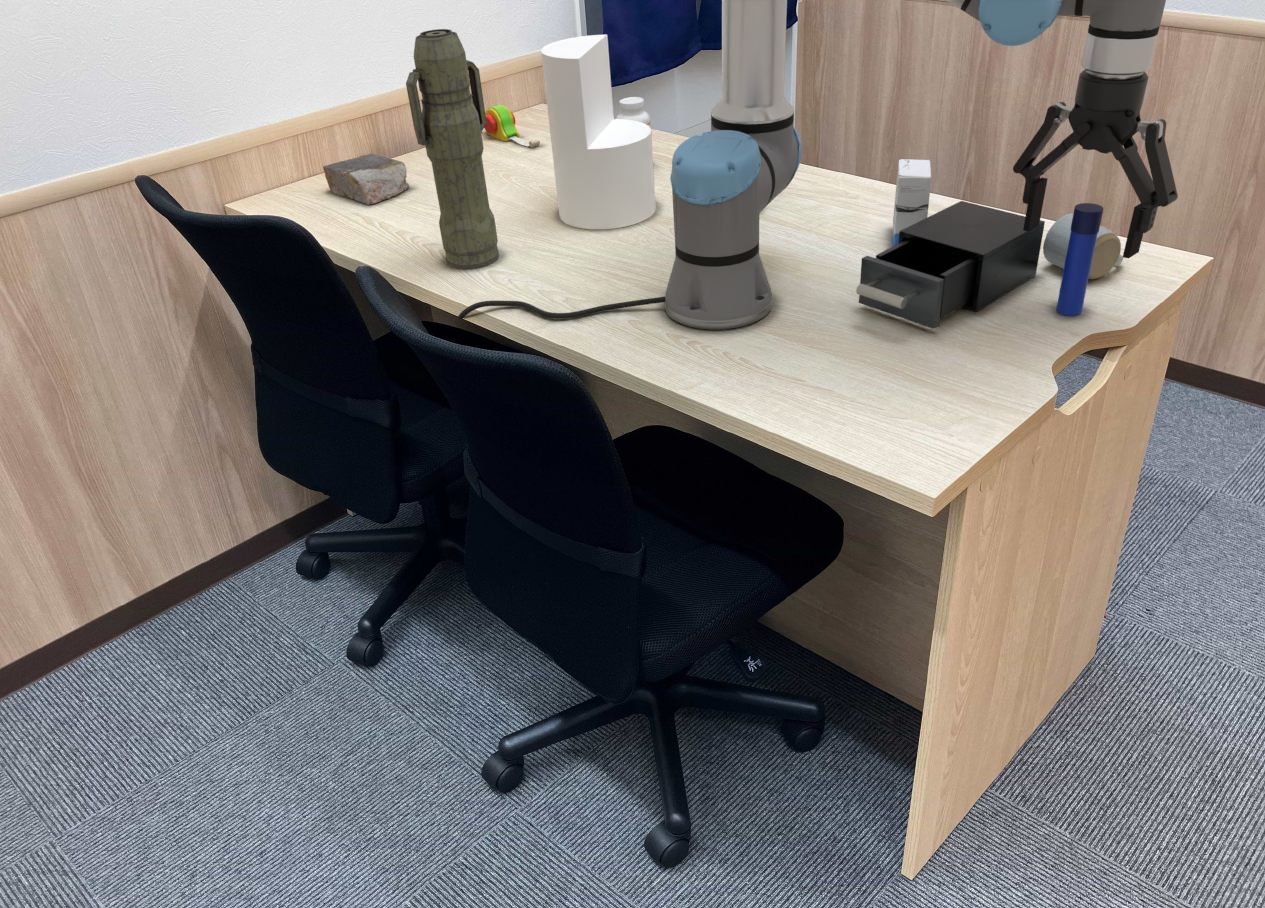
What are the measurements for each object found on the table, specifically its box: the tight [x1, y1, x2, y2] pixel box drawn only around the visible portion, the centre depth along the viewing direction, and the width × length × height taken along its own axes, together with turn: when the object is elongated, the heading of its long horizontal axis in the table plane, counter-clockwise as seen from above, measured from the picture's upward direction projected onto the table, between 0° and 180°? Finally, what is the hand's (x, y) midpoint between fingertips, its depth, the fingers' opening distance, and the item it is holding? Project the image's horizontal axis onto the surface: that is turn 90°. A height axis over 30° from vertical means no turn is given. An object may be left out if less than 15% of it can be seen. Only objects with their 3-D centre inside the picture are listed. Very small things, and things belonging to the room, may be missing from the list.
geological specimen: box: [322, 153, 410, 206], centre depth 195 cm, size 11×6×15 cm
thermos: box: [405, 28, 500, 270], centre depth 154 cm, size 9×12×35 cm
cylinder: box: [540, 34, 657, 231], centre depth 170 cm, size 17×17×28 cm
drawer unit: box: [898, 200, 1046, 313], centre depth 142 cm, size 15×13×8 cm
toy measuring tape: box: [484, 104, 541, 148], centre depth 217 cm, size 6×20×7 cm, turn 40°
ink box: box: [891, 158, 932, 247], centre depth 155 cm, size 8×5×12 cm, turn 168°
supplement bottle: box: [615, 96, 651, 128], centre depth 194 cm, size 7×7×13 cm
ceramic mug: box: [1042, 212, 1125, 280], centre depth 143 cm, size 11×8×8 cm
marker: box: [1055, 202, 1104, 317], centre depth 131 cm, size 3×3×14 cm
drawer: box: [856, 239, 979, 330], centre depth 136 cm, size 19×12×7 cm, turn 132°
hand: (1079, 241), depth 129 cm, fingers open, 13 cm apart
